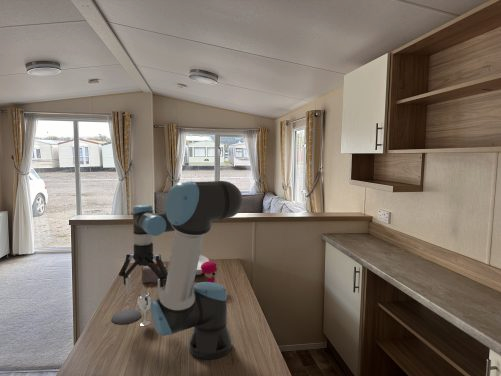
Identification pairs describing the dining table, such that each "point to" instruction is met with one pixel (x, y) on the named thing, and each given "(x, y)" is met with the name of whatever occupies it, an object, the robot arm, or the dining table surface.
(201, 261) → the bowl
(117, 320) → the coaster
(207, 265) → the toy
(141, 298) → the wineglass
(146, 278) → the food item
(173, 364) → the dining table surface
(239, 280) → the dining table surface
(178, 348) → the dining table surface
